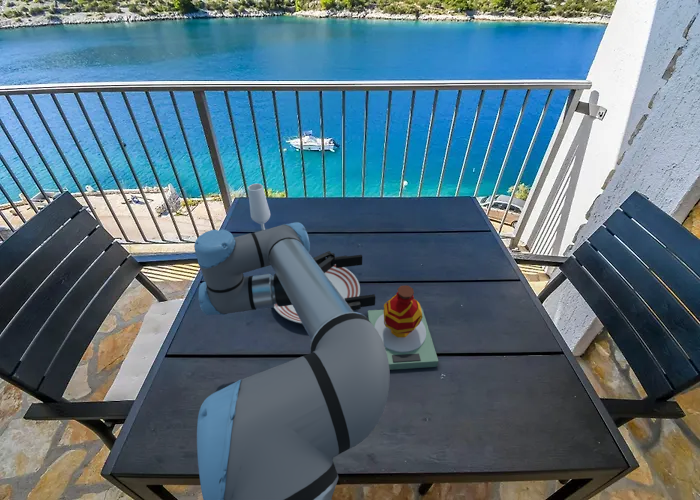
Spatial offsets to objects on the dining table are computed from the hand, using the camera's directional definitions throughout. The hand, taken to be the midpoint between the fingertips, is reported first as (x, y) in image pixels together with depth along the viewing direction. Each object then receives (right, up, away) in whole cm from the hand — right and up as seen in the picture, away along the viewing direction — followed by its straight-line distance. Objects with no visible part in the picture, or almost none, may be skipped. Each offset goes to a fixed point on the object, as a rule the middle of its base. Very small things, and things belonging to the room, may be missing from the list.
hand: (368, 278), depth 80 cm
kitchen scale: (+10, -18, +16) cm, 26 cm away
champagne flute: (-35, +8, +49) cm, 61 cm away
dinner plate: (-15, -8, +28) cm, 33 cm away
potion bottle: (+10, -15, +15) cm, 23 cm away
